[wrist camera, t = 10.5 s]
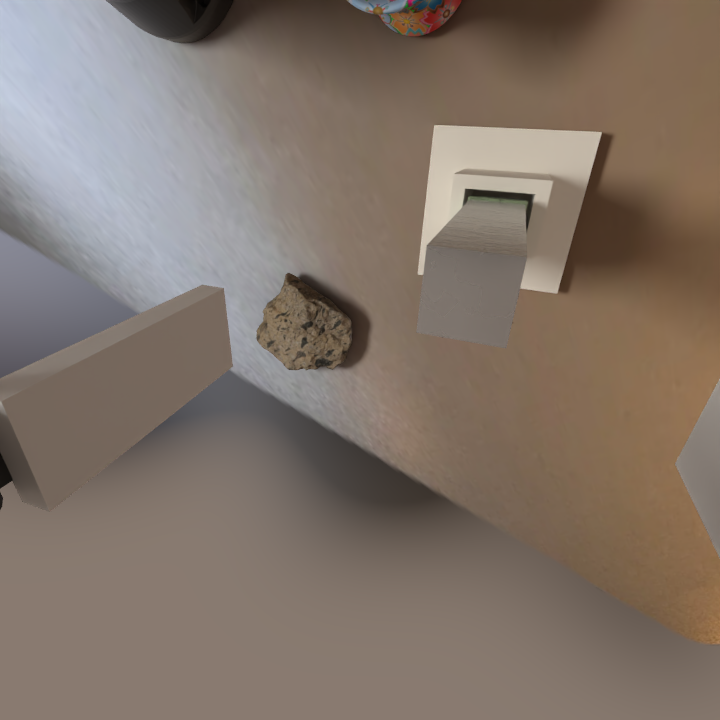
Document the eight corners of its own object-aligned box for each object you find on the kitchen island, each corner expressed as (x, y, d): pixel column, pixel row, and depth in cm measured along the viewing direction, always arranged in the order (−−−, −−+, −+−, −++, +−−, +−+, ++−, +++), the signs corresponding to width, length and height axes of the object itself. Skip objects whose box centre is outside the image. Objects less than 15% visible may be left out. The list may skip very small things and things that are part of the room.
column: (472, 192, 34) (423, 241, 18) (527, 197, 33) (532, 253, 16) (463, 246, 36) (412, 334, 20) (515, 252, 35) (509, 352, 18)
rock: (326, 380, 57) (313, 397, 53) (259, 326, 57) (240, 339, 53) (371, 323, 51) (359, 338, 47) (296, 262, 51) (278, 272, 47)
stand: (436, 125, 40) (415, 121, 32) (600, 132, 36) (620, 129, 28) (419, 271, 46) (399, 297, 39) (556, 290, 42) (563, 322, 35)
